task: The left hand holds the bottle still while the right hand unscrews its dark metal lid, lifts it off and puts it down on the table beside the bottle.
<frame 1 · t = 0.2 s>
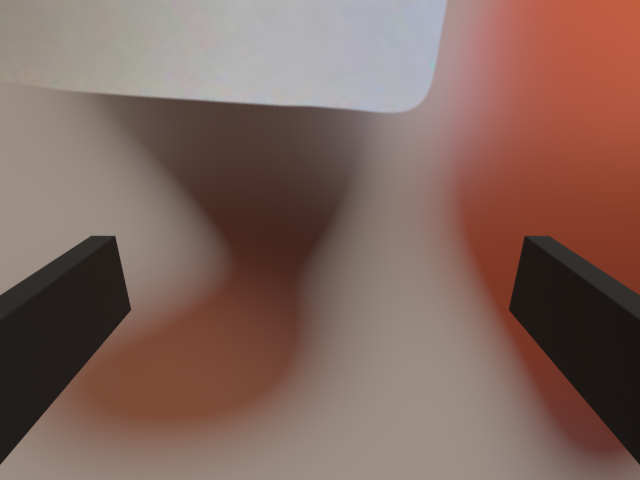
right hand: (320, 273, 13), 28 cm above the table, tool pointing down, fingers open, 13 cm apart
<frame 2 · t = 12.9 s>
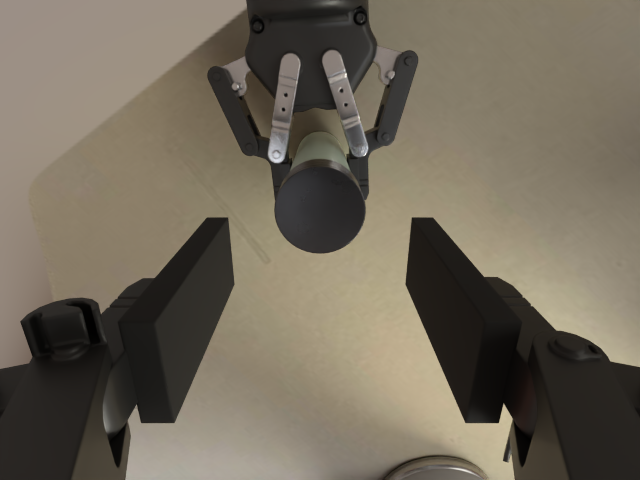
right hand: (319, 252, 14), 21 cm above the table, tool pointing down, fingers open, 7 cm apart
left hand: (322, 206, 29), fingers closed on bottle, 4 cm apart
bottle: (320, 155, 34), on the table, touching left hand
lid: (320, 209, 19), point 16 cm above the table, screwed on, not yet turned
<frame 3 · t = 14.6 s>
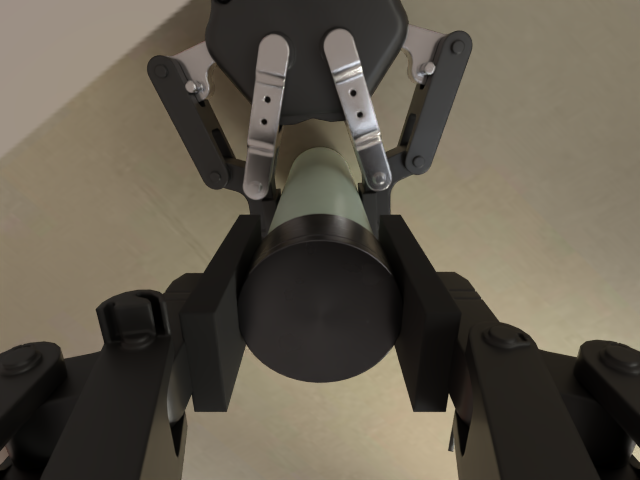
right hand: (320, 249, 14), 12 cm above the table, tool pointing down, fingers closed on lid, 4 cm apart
left hand: (323, 257, 20), fingers closed on bottle, 4 cm apart
bottle: (320, 178, 26), on the table, touching left hand
lid: (320, 310, 10), point 16 cm above the table, screwed on, not yet turned, touching right hand
when the right hand's fingers open (12 cm above the table, at t = 15.9 s): lid stays where it is, point 17 cm above the table.
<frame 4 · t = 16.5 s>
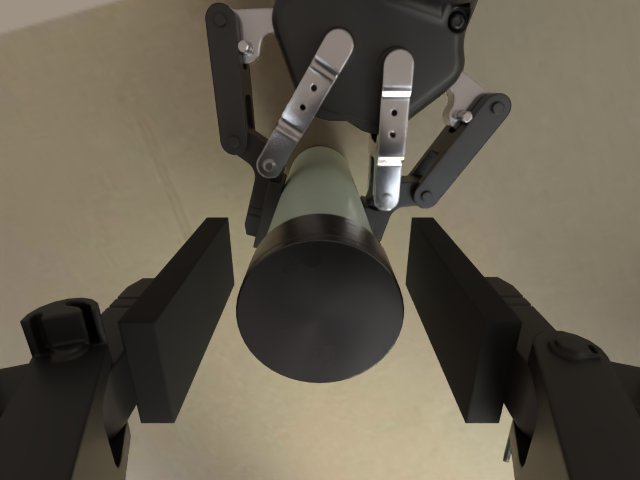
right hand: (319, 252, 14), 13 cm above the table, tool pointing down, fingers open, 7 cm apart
left hand: (305, 253, 20), fingers closed on bottle, 4 cm apart
bottle: (320, 177, 26), on the table, touching left hand
lid: (320, 310, 10), point 17 cm above the table, turned 75° so far, risen 0.2 cm, still on its thread
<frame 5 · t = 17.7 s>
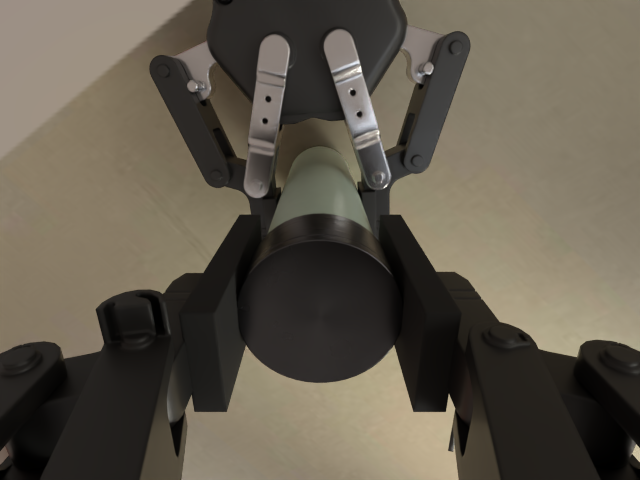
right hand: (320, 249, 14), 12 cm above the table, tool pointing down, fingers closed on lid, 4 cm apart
left hand: (323, 255, 20), fingers closed on bottle, 4 cm apart
bottle: (320, 177, 26), on the table, touching left hand
lid: (320, 310, 10), point 17 cm above the table, turned 75° so far, risen 0.2 cm, still on its thread, touching right hand
when the right hand's fingers open (0 cm above the table, at t = 24.7 s): lid drops 2 cm, point 2 cm above the table.
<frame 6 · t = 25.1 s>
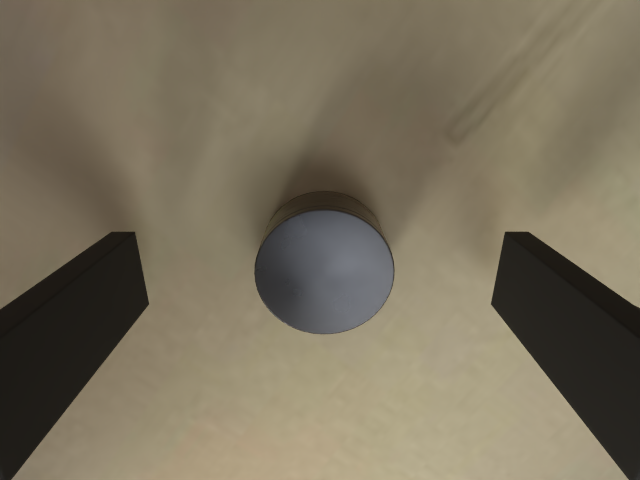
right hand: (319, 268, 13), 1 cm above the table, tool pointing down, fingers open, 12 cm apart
lid: (324, 271, 12), point 2 cm above the table, off its thread
when the left hand's fingers open (7 cm above the table, at t = 25.7 s): bottle stays where it is, on the table.
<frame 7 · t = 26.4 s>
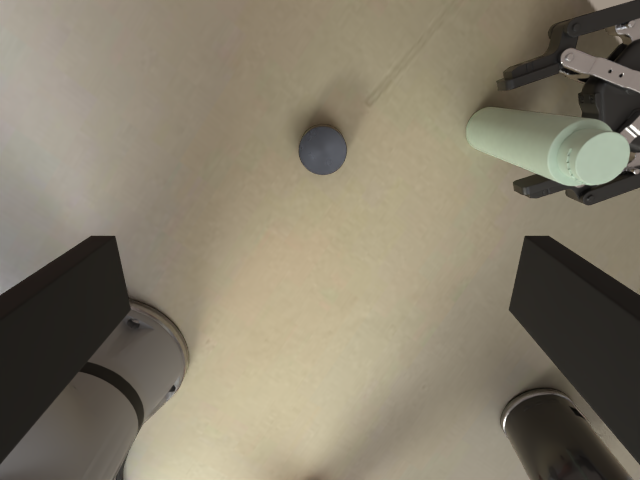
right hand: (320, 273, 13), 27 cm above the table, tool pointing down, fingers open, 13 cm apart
left hand: (509, 139, 31), fingers open, 8 cm apart
bottle: (487, 129, 37), on the table
lid: (322, 150, 36), point 2 cm above the table, off its thread
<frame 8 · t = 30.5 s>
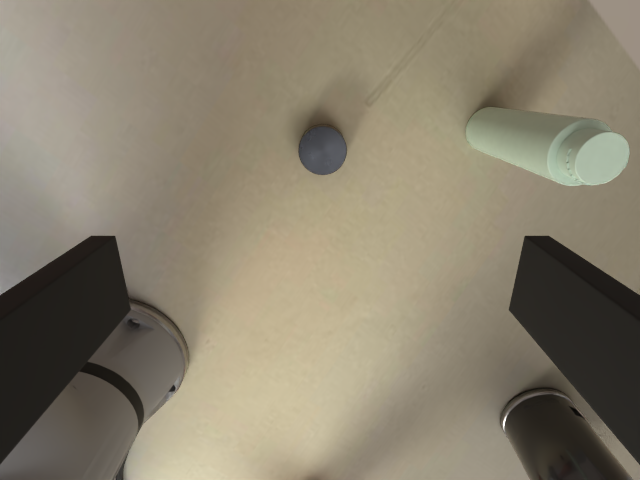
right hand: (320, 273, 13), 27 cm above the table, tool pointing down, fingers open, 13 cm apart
bottle: (486, 129, 37), on the table
lid: (322, 150, 36), point 2 cm above the table, off its thread
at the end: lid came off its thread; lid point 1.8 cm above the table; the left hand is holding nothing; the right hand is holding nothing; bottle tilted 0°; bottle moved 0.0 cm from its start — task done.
